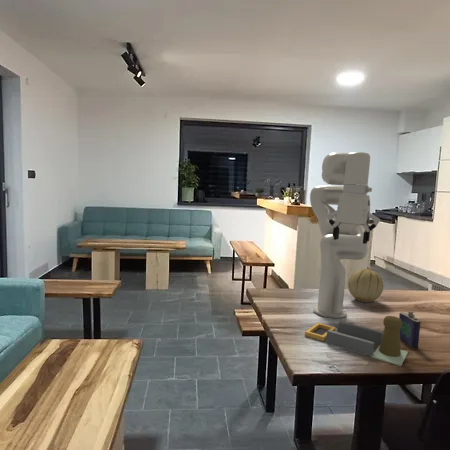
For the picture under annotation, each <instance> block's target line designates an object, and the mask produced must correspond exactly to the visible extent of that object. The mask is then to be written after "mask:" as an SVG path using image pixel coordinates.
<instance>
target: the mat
mask: <svg viewBox="0 0 450 450" xmlns="http://www.w3.org/2000/svg"><path fill="white" fill-rule="evenodd" d="M379 348H380V345H378V347H377V348H376V349H375V350H374V352H373V355H372V357H371V358H372V359H376V360H379V361H382V362H384V363H385V362H386V363H388V364H391V365H395V366H399V367H402V365H403V363H404V361H405V359H406V357H407V356H408V354H409V351H407V350H404V349H400V352H401V355H400V356H398V357H392V356H387V355H384V354H382V353H381V352H380V351H379Z"/></svg>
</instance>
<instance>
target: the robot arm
mask: <svg viewBox="0 0 450 450" xmlns="http://www.w3.org/2000/svg"><path fill="white" fill-rule="evenodd" d="M370 164H371V156H370V154H369V153H367V152H365V151H363V152H362V151H361V152H358V151H354V152H348V153H347V152H346V153H345V152H331V153H328V154H326V155H325V157H324V158H323V160H322V166H321V171H322V172H321V178H322V181H323V182H324V183H326V184H327V185H325V184H322V185H315V186H314V187H313V188H312V189H311V191H310V194H309V201H310V202H309V203H310V206H311V209H312V211H313V213H314V215H315V217H316V218H317V222H318V227H319V231H320V234H321V236H322V237H321V239H320V243H319V248H320V249H319V250H320V251H319V252H320V272H319V273H320V274H319V283H318V284H319V286H318V299H317V305H315V306H314V307H313V312H314V314H316V315H318V316H321V317H324V318H328V319H329V318H331V319H343V318H344V317H346V316H347V311H346V310H345V309H344V308H343V307H344V295H345V287H346V286H345V285H346V268H345V266H344V265H343V263H342V262H341V261H340V260H357V261H359V260H363V259H365V258H366V257H367V254H368V249H369V248H368V242H369V241H370V237H371V232H372V231H373V230H374V229H375V228H377V226H378V224H379V223H380V221H381V219H380V218H379V217H378V216H375V215H374V214H372V213H371V197H370V194H368V193H370V192H371V193H372V192H373V191H372V190H373V188H372V187H369V175H370V168H371V167H370ZM332 206H337V209H335V208H334V207H332ZM370 220H372V221H373V223H372V224H370ZM369 224H370V225H369ZM363 229H364V230H365V231H363Z"/></svg>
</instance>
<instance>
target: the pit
mask: <svg viewBox="0 0 450 450" xmlns="http://www.w3.org/2000/svg"><path fill="white" fill-rule="evenodd" d="M336 329H337V328H336V326H332V325H328V324H324V323H320V322H316V323H315V324H313V326H311V327H310V328H309V329H307V330H305V331H304V337H307V338H309V339H314V340H316V341H319V342H325V341H326V339H327V331H328V330H332V331H336ZM336 332H337V331H336Z"/></svg>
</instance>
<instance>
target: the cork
mask: <svg viewBox="0 0 450 450" xmlns="http://www.w3.org/2000/svg"><path fill="white" fill-rule="evenodd" d="M382 323H383V326H384V328H383V331H382V332H383V335H382V340H381V344H380V345H379V346H380V348H379V351H380V352H381V353H382V354H384V355H387V356H392V357H398V356H400V355H401V352H400V350H401V340H400V329H401V327H402V321H401V319H400V318H399V317H398V316H393V315H387V316H385V317H384V318H383V322H382Z"/></svg>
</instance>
